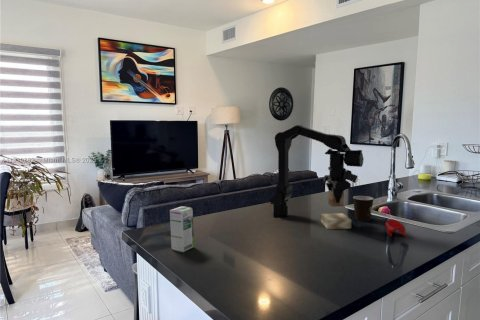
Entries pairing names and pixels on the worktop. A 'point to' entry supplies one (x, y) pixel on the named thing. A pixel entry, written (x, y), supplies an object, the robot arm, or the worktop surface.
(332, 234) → the worktop surface
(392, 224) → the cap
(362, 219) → the coffee mug
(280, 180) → the robot arm
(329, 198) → the walnut block
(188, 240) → the syrup box
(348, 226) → the birch block
